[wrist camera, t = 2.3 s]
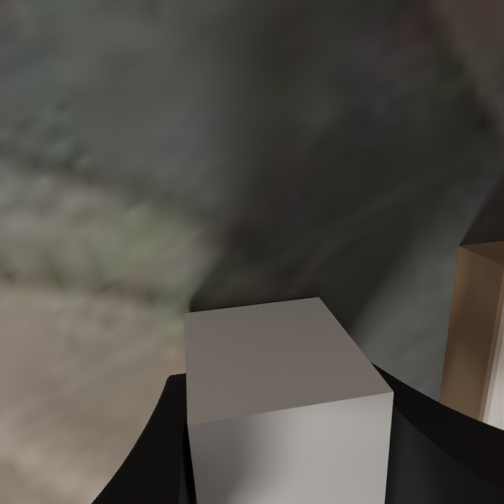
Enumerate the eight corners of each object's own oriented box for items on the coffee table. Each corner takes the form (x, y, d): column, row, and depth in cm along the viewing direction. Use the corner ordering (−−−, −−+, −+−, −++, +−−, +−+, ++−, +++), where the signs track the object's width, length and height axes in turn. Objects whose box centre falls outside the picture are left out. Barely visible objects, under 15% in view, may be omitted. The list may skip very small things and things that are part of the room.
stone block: (317, 405, 15) (381, 537, 10) (197, 425, 14) (206, 575, 9) (318, 297, 13) (393, 391, 9) (184, 313, 13) (187, 425, 8)
